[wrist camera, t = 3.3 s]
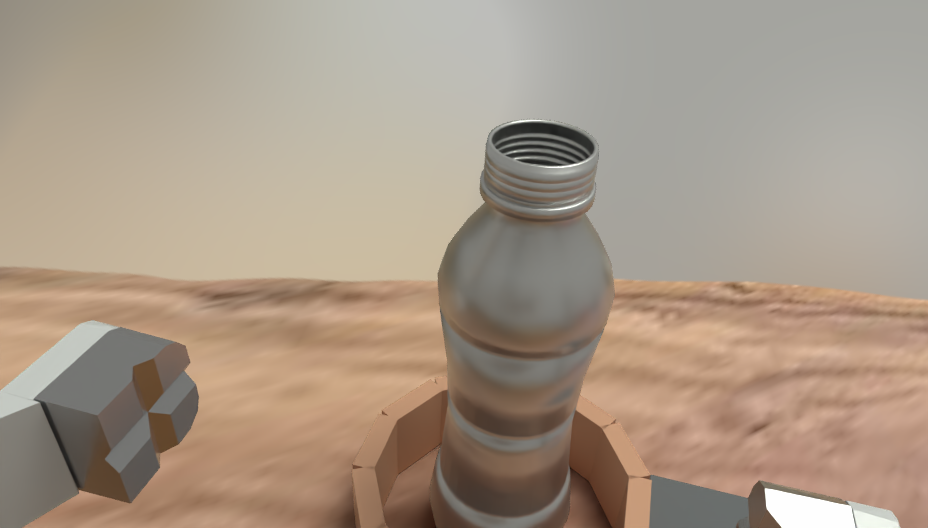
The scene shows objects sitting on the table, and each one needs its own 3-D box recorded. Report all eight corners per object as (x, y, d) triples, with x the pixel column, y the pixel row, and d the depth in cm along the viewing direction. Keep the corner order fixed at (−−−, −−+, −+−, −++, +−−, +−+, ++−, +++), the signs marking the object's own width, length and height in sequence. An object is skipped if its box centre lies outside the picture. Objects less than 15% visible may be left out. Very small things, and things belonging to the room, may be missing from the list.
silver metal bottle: (570, 485, 35) (648, 116, 24) (553, 610, 30) (644, 208, 19) (448, 458, 36) (468, 91, 25) (410, 574, 31) (413, 172, 20)
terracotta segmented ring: (311, 616, 29) (303, 561, 27) (410, 401, 40) (411, 349, 37) (621, 712, 27) (641, 660, 24) (640, 456, 37) (656, 403, 35)
